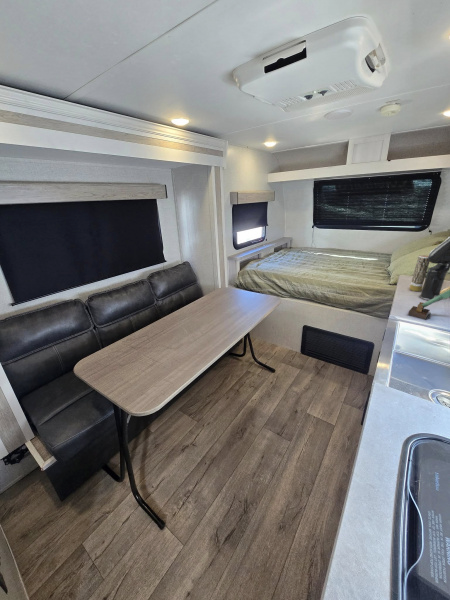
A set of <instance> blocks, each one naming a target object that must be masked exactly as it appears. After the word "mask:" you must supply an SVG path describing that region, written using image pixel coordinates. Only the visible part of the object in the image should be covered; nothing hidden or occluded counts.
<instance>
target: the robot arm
mask: <svg viewBox="0 0 450 600" xmlns="http://www.w3.org/2000/svg"><path fill="white" fill-rule="evenodd" d="M427 256H428V260H429V263H431V264H435V265H434V266H431V267H428V269H427V272H426V276H425V279H424V282H423V285H422V289H421V291H420V295H419V298H420V299H422V300H425V301H429V300H431V299H433V298H435V297H437V296H439V295H440V291H441V290H442V288H443V285H444V282H445V279H446V276H447V273H448V272H449V271H450V236H448V237H447V238H446V239H445V240H444V241H442V242H441V243H440V244H439V245H437V246H436V247H435V248H433V249H432V250H431V251H430V252H429V254H428V255H427Z"/></svg>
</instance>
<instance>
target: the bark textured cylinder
mask: <svg viewBox="0 0 450 600" xmlns="http://www.w3.org/2000/svg"><path fill="white" fill-rule="evenodd" d="M428 256H429V255H427V254H426V255H425V254H420V255H418V257H417V260H416V264H415V267H414V271H413V275H412V278H411V281H410V285H409V291H413V292H422V289H423V285H424V282H425V279H426V278H425V276H426V275H427V273H426V272H428V269H429V265H430V262H429V260H428Z"/></svg>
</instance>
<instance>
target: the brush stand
mask: <svg viewBox="0 0 450 600" xmlns="http://www.w3.org/2000/svg"><path fill="white" fill-rule="evenodd" d="M423 303H424V302H422V301H421V302H419V304H417V306H414V305H413V306H412V307H411V308H409V311H408V314H407V316H410V317H414V318H417V319H420V320H427V317H428V315H430V312H431V311H430V310H431V309H429V308H425V307H424V308H423V306H424V305H421V304H423Z"/></svg>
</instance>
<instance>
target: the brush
mask: <svg viewBox="0 0 450 600" xmlns="http://www.w3.org/2000/svg"><path fill="white" fill-rule="evenodd" d="M448 298H450V285H449V286H447V287H445V288H444V289H441V291H440V294H439V296H437V297H435V298H433V299H431V300H426V301H425V302H422V303H423V304H421V305H424V306H423V308H424V309H425V308H426V307H429V306H431V305H432V304H434V303H437V302H439V301H441V300H443V299H444V300H446V299H448Z"/></svg>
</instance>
